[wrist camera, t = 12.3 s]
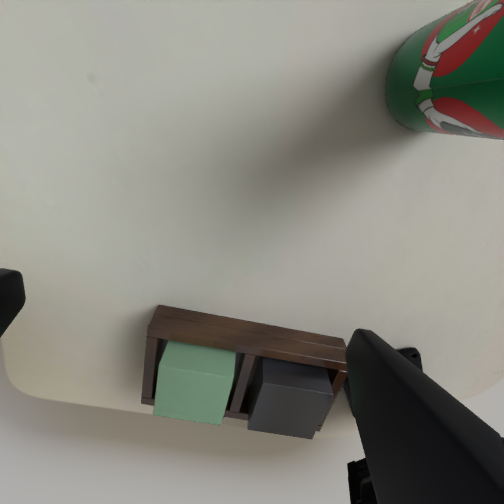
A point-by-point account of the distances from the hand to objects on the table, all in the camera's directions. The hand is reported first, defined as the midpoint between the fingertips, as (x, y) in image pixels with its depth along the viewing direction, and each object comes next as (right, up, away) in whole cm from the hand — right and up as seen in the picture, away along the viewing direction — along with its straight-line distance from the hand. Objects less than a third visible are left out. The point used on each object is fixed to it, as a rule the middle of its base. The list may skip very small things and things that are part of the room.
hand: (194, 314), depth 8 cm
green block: (-3, -7, +15) cm, 17 cm away
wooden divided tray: (+1, -7, +17) cm, 18 cm away
